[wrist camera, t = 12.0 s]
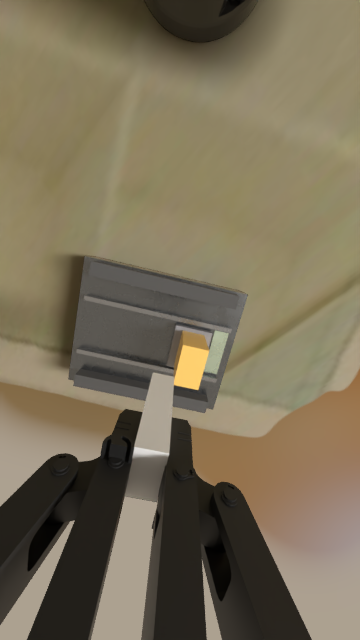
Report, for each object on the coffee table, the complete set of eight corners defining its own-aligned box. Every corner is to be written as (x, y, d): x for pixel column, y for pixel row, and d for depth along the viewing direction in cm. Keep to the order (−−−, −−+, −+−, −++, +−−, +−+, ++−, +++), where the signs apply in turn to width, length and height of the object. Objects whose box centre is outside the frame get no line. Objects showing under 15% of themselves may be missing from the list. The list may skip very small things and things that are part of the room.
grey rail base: (95, 256, 35) (81, 255, 30) (240, 290, 36) (249, 295, 31) (79, 367, 39) (65, 382, 34) (209, 395, 40) (213, 413, 35)
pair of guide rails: (95, 260, 31) (90, 261, 29) (236, 294, 32) (239, 296, 30) (78, 379, 35) (73, 385, 33) (203, 405, 36) (205, 413, 34)
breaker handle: (176, 323, 33) (175, 338, 26) (211, 331, 33) (219, 348, 27) (166, 362, 34) (163, 386, 28) (200, 370, 34) (205, 395, 28)
